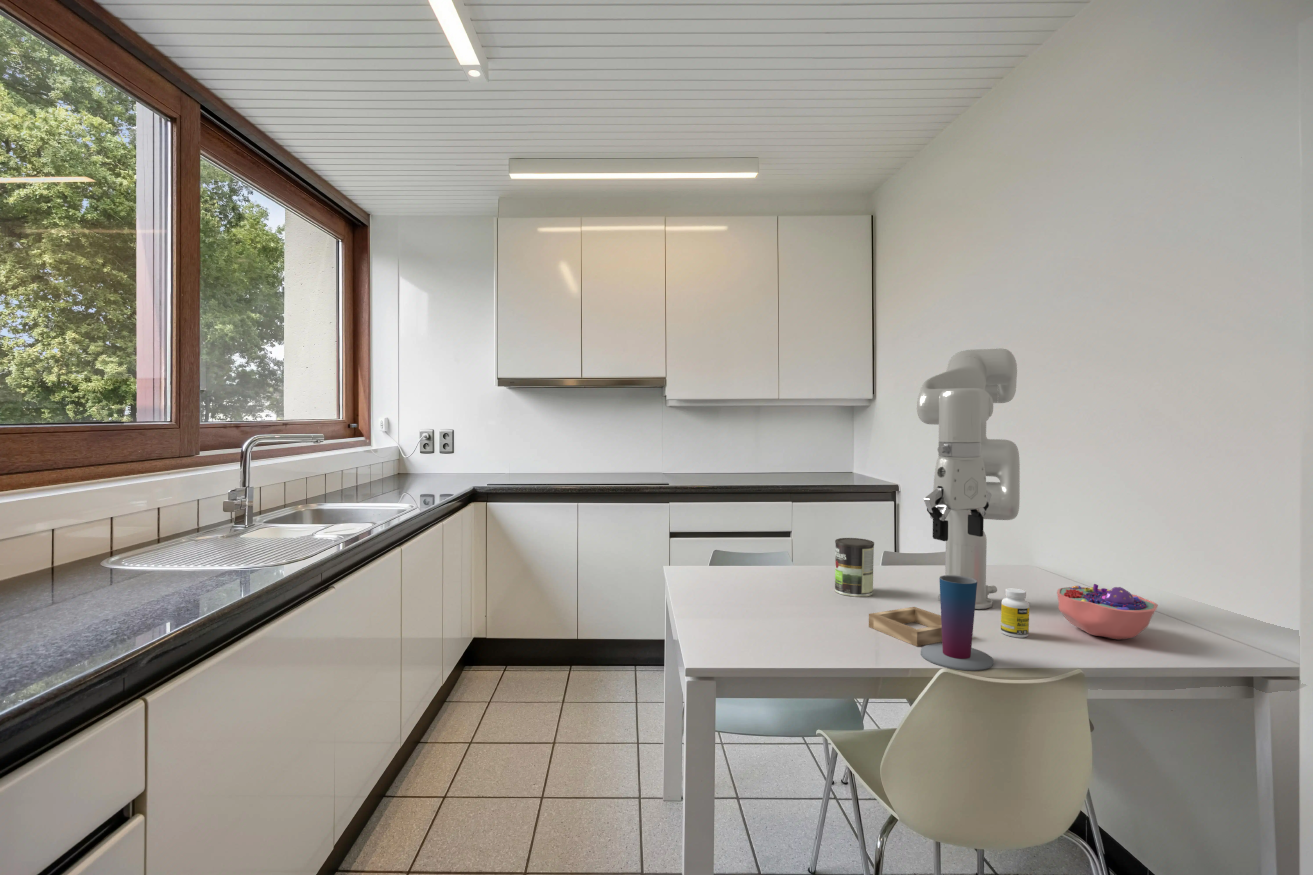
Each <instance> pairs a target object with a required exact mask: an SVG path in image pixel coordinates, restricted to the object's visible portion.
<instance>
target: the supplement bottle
mask: <svg viewBox="0 0 1313 875" xmlns="http://www.w3.org/2000/svg"><path fill="white" fill-rule="evenodd" d="M1005 596H1006V597H1004V598H1002V600H1001V610H1000V612H1001V613H1000V633H1001V634H1003V635H1005V636H1008V637H1012V638H1018V639H1019V638H1020V639H1021V638H1023V639H1025V638H1027V637H1028V636H1029V632H1030V628H1029V627H1030V626H1029V625H1030V603H1029V602H1028V601H1027V600H1026V599H1027V591H1026V589H1025V590H1024V589H1021V588H1015V587H1008V588H1005Z"/></svg>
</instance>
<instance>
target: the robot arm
mask: <svg viewBox="0 0 1313 875" xmlns="http://www.w3.org/2000/svg"><path fill="white" fill-rule="evenodd" d="M946 367H947V368H946V371H944V372H942V373H939V374H936V375H934V376H931V377H930V378H928V379H926V380H925V381H924V382H923V383H922V385H921V387H920V390H919V394H918V396H917V401H916V413H917V416H918V418H919V420H920V421H921V422H923V423H924V424H926V425H938V447H937V452H938V457H937V459H936V464H935V469H934V475H933V476H934V478H933V488H932V489H933V490H932V491H931V492H930V493H929V494H928V495H926V496H925V497H924V498H923V501H924V504H925V507H926V511H927V513H928V514H929V517H930V519H932V539H934V540H936V541H937V540H938V541H941V542H945V565H944V566H945V569H944V570H945V571H944V573H945V574H944V575H956V576H964V577H969V578H973V579H975V580H977V591H976V602H975V610H983V609H984V610H985V609H990V608H992V607H993V599H990V598H989V597H988V596H989V595H990V594H996V593H997V592H998V587H997V586H996V585H987V535H986V533H985V531H984V520H993V521H1012V520H1014V519H1016V518H1017V517H1018V515H1019V511H1020V502H1021V501H1020V499H1021V498H1020V492H1021V491H1020V483H1021V481H1020V478H1021V476H1020V474H1021V472H1020V470H1021V468H1020V465H1021V464H1020V463H1021V462H1020V461H1021V460H1020V452H1019V448H1018V446H1017V444H1016V443H1015V442H1013V441H1012V440H1009V439H1003V438H1001V439H1000V438H999V439H997V438H996V439H995V438H987V421H988V420H989V419H990V417H992V416H993V413H994V404H1005V403H1010V402H1011V401H1012V400H1013V399H1014V397H1015V395H1016V392H1017V381H1018V380H1017V377H1018V364H1017V360H1016V357H1015V355H1014V354H1013V353H1012V351H1010V350H1009V349H1006V348H982V349H966V350H961V351H959V352H956V353H955V354H953V355H952V356H951V357H950V359H949V361H948V364H947V366H946ZM987 477H994V478H997V479H998V480H999V482H997V481H987ZM941 510H942V511H941ZM938 601H939V602H940V593H939V594H938Z"/></svg>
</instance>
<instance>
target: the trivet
mask: <svg viewBox="0 0 1313 875" xmlns="http://www.w3.org/2000/svg"><path fill="white" fill-rule="evenodd" d="M920 656H921V657H922V658H923V659H924V660H926V661H928V662H930V663H931V664H934V665H937V666H940V667H943V668H947V669H953V670H958V671H967V672H968V671H971V672H973V671H984V670H985V671H986V670H988V669H991V667H993V665H994V659H993V658H992V656H991V655H990V654H988V653H986V652H984V651H982V650H980V649H976V648H973V647H971V656H970V658H967V659H957V658H952V657H949V656H946V655H945V654H943V647H942V643H932V644H927V645H923V646H922V647H921V648H920Z"/></svg>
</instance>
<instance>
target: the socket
mask: <svg viewBox="0 0 1313 875" xmlns="http://www.w3.org/2000/svg"><path fill="white" fill-rule="evenodd" d="M909 623H910V624H911V623H917V624H920V625H923V626H925V627H921V628H915V627H913V626H909V625H906V624H909ZM868 628H871V629H872V630H875V631H877V632H880V633H883V634H885V635H888V636H889V637H893V638H895V639H898V640H900V641H903V642H905V643H908V644H910V645H912V646H915V647H921V646H922V647H923V646H926V645H930V644H939V643H941V642H942V625H941V614H937V613H935V612H931V611H928V610H926V609H923V608H919V607H916V606H911V607H904V608H898V609H891V610H886V611H885V610H883V611H879V612H873V613H872V612H871V613H868Z"/></svg>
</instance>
